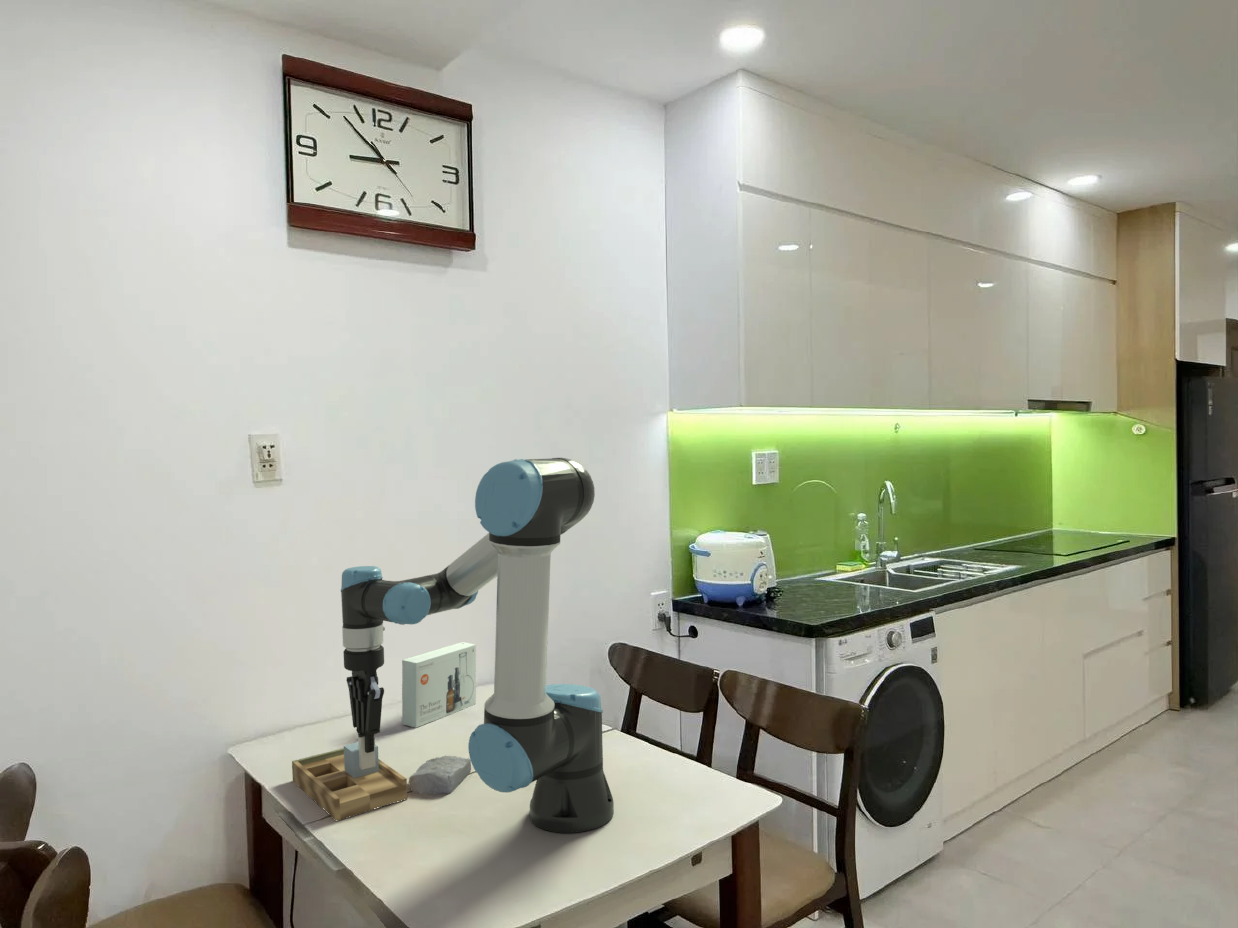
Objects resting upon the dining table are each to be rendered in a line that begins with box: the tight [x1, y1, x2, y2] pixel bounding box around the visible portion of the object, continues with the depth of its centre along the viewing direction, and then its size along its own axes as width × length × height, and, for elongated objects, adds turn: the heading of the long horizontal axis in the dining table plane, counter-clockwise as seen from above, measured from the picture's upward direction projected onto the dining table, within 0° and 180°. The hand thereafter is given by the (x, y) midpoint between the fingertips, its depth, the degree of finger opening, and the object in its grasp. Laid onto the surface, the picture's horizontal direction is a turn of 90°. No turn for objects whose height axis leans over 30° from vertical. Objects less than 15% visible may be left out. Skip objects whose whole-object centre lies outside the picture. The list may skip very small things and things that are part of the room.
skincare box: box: [401, 641, 477, 729], centre depth 209 cm, size 21×6×16 cm, turn 147°
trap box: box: [291, 747, 408, 821], centre depth 165 cm, size 24×14×4 cm, turn 39°
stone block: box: [408, 755, 472, 795], centre depth 168 cm, size 12×5×10 cm
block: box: [343, 741, 379, 778], centre depth 167 cm, size 5×5×5 cm
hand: (367, 766), depth 164 cm, fingers closed
